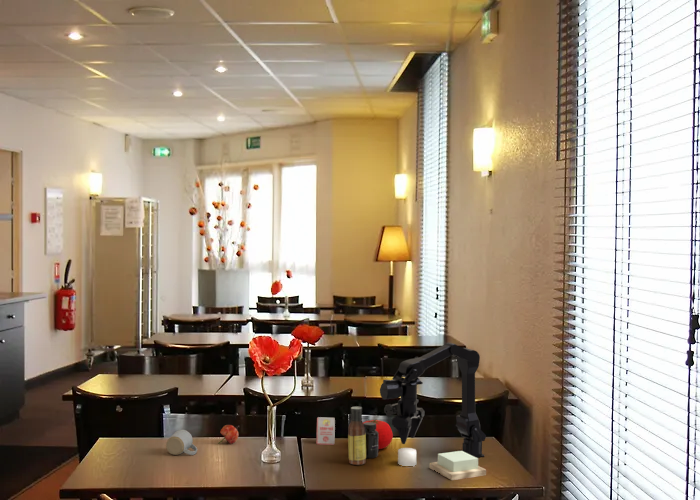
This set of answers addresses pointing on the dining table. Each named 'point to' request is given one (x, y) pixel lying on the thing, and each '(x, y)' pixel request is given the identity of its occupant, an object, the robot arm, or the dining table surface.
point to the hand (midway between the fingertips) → (407, 440)
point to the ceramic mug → (181, 443)
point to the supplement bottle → (371, 440)
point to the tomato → (383, 433)
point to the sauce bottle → (356, 438)
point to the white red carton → (325, 431)
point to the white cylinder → (407, 456)
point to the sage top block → (457, 461)
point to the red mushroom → (229, 433)
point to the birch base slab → (459, 474)
